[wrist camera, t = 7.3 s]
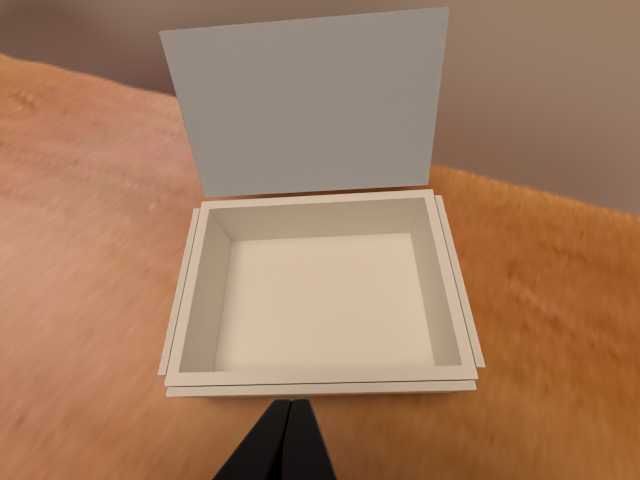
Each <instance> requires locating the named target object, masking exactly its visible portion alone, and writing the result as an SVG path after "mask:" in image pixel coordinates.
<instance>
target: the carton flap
mask: <svg viewBox="0 0 640 480" xmlns="http://www.w3.org/2000/svg"><path fill="white" fill-rule="evenodd" d="M448 15H449V7H439V8H427V9H415V10H403V11H391V12H380V13H368V14H356V15H344V16H332V17H321V18H309V19H297V20H286V21H273V22H262V23H250V24H238V25H226V26H214V27H202V28H192V29H180V30H167V31H159V34H160V38H161V41H162V45H163V48H164V52H165V56H166V59H167V63H168V66H169V70H170V73H171V77H172V81H173V84H174V88H175V91H176V95H177V99H178V102H179V106H180V110H181V113H182V117H183V120H184V124H185V128H186V131H187V135H188V138H189V142H190V146H191V149H192V153H193V156H194V160H195V164H196V167H197V171H198V174H199V178H200V182H201V185H202V189H203V192H204V196H205V197H221V196H239V195H257V194H275V193H293V192H311V191H329V190H347V189H365V188H383V187H401V186H419V185H428V181H429V173H430V165H431V156H432V148H433V140H434V131H435V123H436V114H437V106H438V97H439V90H440V82H441V72H442V65H443V56H444V48H445V40H446V32H447V23H448Z"/></svg>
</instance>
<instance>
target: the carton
mask: <svg viewBox="0 0 640 480" xmlns="http://www.w3.org/2000/svg"><path fill="white" fill-rule="evenodd" d="M484 367H485V363H484V359H483V355H482V351H481V348H480V344H479V340H478V336H477V332H476V328H475V324H474V320H473V317H472V313H471V309H470V305H469V301H468V297H467V293H466V289H465V286H464V282H463V278H462V274H461V270H460V266H459V262H458V258H457V254H456V251H455V247H454V243H453V239H452V235H451V231H450V227H449V223H448V220H447V216H446V212H445V208H444V204H443V200H442V196H441V195H435V196H434V194H433V190H432V189H426V190H408V191H390V192H371V193H353V194H335V195H316V196H298V197H280V198H262V199H243V200H225V201H207V202H202V204H201V209H200V208H194V210H193V215H192V220H191V224H190V229H189V233H188V238H187V243H186V247H185V252H184V256H183V261H182V265H181V270H180V275H179V279H178V284H177V288H176V293H175V298H174V302H173V307H172V311H171V316H170V320H169V325H168V330H167V334H166V339H165V343H164V348H163V353H162V357H161V362H160V366H159V371H158V376H165V377H166V379H165V384H164V386H165V387H168V389H167V394H166V397H193V398H219V397H266V396H313V395H361V394H408V393H449V392H460V391H471V390H477V389H476V385H475V381H474V380H476V379H478V375H477V371H476V369H480V368H484Z"/></svg>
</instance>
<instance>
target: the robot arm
mask: <svg viewBox="0 0 640 480" xmlns="http://www.w3.org/2000/svg"><path fill="white" fill-rule="evenodd" d="M212 480H338V479H337V476H336V473H335V470H334V467H333V464H332V461H331V459H330V456H329V453H328V450H327V447H326V444H325V441H324V438H323V435H322V432H321V430H320V427H319V424H318V421H317V418H316V415H315V412H314V409H313V406H312V404H311V401H310V399H309V398H294V399H293V401H292V399H291V398H277V399H275V400H274V401H273V402H272V403H271V405H270V406H269V407H268V409H267V410H266V411H265V412H264V414H263V415H262V416H261V418H260V419H259V420H258V421H257V423H256V424H255V425H254V426H253V428H252V429H251V430H250V432H249V433H248V434H247V435H246V437H245V438H244V439H243V441H242V442H241V443H240V444H239V446H238V447H237V448H236V450H235V451H234V452H233V453H232V455H231V456H230V457H229V459H228V460H227V461H226V462H225V464H224V465H223V466H222V468H221V469H220V470H219V471H218V473H217V474H216V475H215V476H214V478H213V479H212Z"/></svg>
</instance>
